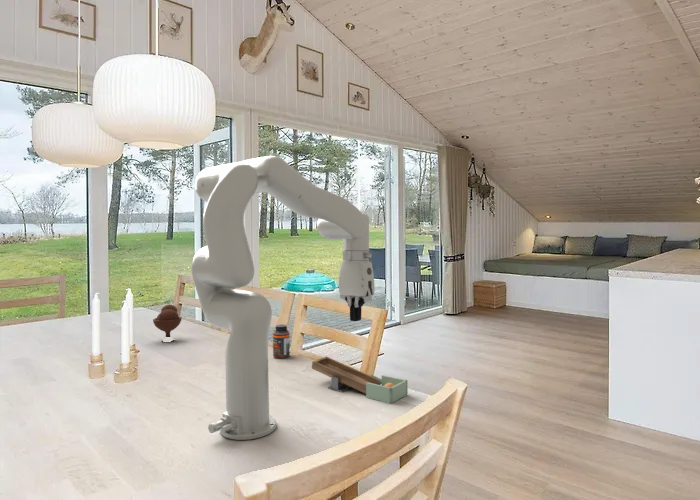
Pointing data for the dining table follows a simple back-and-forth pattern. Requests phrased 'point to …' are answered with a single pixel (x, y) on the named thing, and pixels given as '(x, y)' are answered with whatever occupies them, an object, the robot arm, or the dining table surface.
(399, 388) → the tray
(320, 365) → the lever
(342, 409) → the dining table surface
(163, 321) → the ice cream bowl
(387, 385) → the ball
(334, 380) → the fulcrum
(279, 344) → the supplement bottle
